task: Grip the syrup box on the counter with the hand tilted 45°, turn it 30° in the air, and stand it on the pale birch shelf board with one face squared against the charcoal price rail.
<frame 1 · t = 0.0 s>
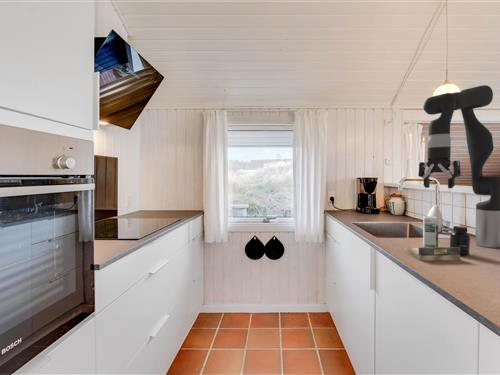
hand: (438, 187, 112), 29 cm above the worktop, tool pointing down, fingers open, 8 cm apart
price shelf: (430, 256, 120), on the worktop
supplement bottle: (459, 254, 122), on the worktop
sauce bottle: (434, 232, 167), on the worktop
syrup box: (430, 247, 134), on the worktop
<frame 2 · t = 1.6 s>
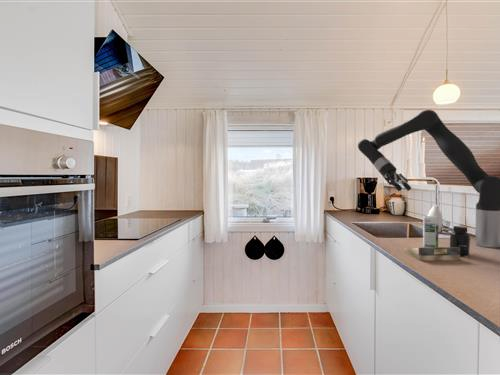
hand: (405, 189, 143), 27 cm above the worktop, tool tilted 45°, fingers open, 8 cm apart
nothing on the worktop moved.
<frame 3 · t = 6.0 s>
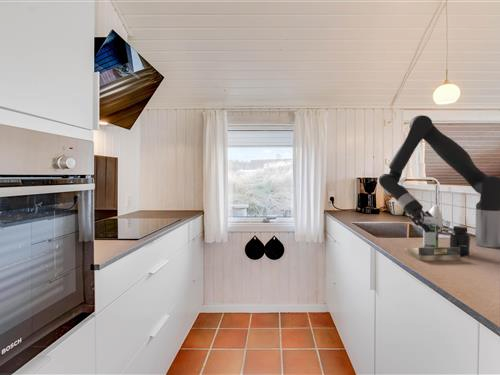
hand: (433, 230, 133), 8 cm above the worktop, tool tilted 45°, fingers closed on syrup box, 7 cm apart
syrup box: (430, 247, 134), on the worktop, touching gripper
everything else where it was.
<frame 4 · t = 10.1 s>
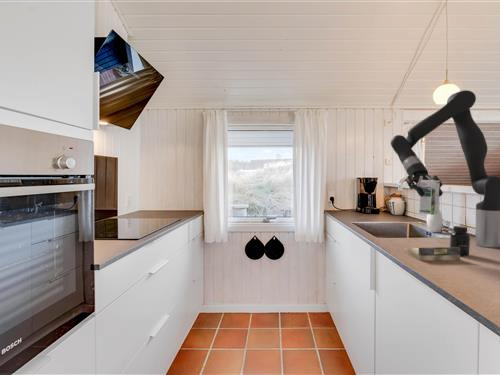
hand: (431, 195, 121), 26 cm above the worktop, tool tilted 45°, fingers closed on syrup box, 7 cm apart
syrup box: (428, 214, 123), point 17 cm above the worktop, touching gripper
everything else where it was.
when the fingers open (11 cm above the worktop, at t = 14.1 s): syrup box drops 1 cm, resting on price shelf.
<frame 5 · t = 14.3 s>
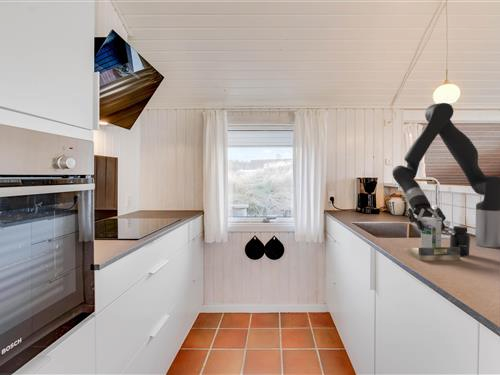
hand: (433, 229, 118), 12 cm above the worktop, tool tilted 45°, fingers open, 8 cm apart
syrup box: (430, 251, 120), point 2 cm above the worktop, touching gripper, price shelf
everything else where it was.
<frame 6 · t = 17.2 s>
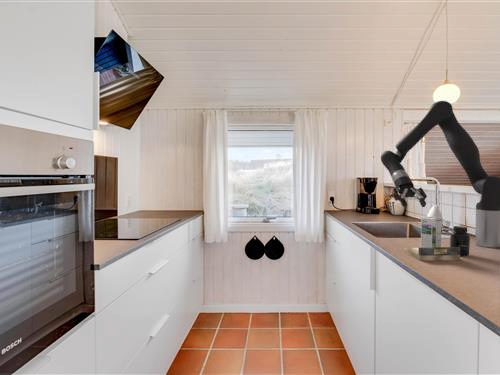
hand: (415, 206, 131), 20 cm above the worktop, tool tilted 45°, fingers open, 8 cm apart
syrup box: (430, 251, 120), point 2 cm above the worktop, touching price shelf
everything else where it was.
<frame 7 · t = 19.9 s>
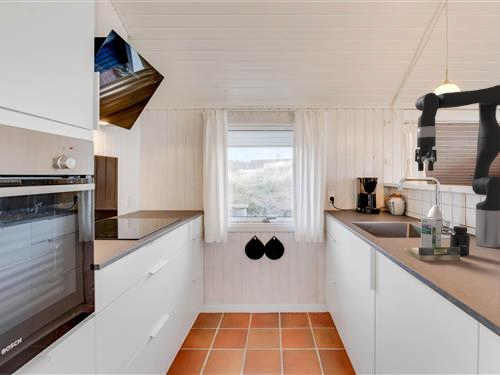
hand: (425, 171, 136), 36 cm above the worktop, tool pointing down, fingers open, 8 cm apart
nothing on the worktop moved.
at the end: syrup box 0.2 cm off-centre on the price shelf, point 1.8 cm above the price shelf's base; syrup box tilted 0°; the gripper is holding nothing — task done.
